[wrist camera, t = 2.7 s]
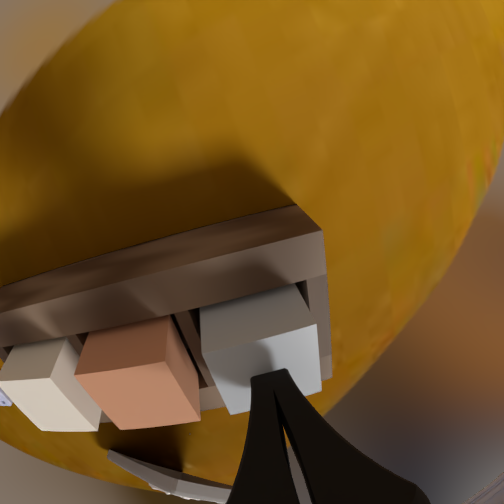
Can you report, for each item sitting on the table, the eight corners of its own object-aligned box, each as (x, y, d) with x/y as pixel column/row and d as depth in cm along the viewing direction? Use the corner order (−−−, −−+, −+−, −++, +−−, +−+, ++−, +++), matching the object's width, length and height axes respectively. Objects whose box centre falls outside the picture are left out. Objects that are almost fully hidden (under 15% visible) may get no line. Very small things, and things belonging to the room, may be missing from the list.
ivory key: (53, 393, 14) (41, 430, 12) (15, 343, 12) (-5, 381, 10) (106, 388, 14) (97, 431, 12) (67, 334, 13) (49, 377, 10)
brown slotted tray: (68, 387, 18) (57, 423, 15) (1, 286, 14) (-25, 320, 11) (313, 338, 19) (332, 377, 16) (296, 204, 15) (322, 230, 12)
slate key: (223, 368, 15) (230, 414, 12) (199, 305, 13) (201, 353, 10) (303, 347, 15) (321, 390, 12) (293, 281, 13) (316, 323, 11)
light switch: (103, 465, 21) (166, 506, 12) (119, 414, 25) (189, 418, 16) (178, 487, 24) (276, 517, 15) (190, 441, 28) (288, 446, 19)
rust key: (126, 386, 15) (120, 430, 12) (89, 330, 13) (73, 375, 10) (198, 374, 15) (200, 420, 12) (169, 312, 13) (165, 361, 10)
